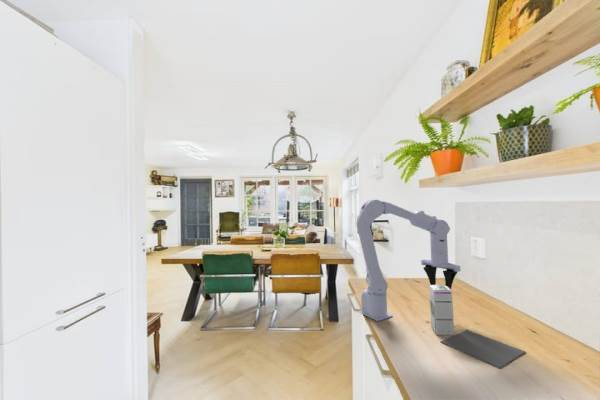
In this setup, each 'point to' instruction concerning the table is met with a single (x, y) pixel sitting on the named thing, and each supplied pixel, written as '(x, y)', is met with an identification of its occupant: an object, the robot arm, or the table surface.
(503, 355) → the rubber mat
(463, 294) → the table surface
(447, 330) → the syrup box
